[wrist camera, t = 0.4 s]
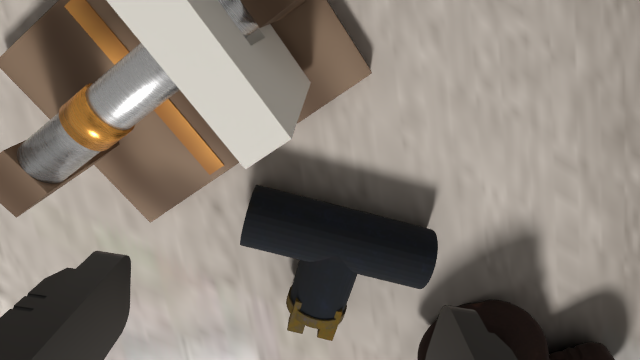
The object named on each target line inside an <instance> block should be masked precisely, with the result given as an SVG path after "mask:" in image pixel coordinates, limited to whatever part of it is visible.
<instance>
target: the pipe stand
mask: <svg viewBox="0 0 640 360" xmlns="http://www.w3.org/2000/svg"><path fill="white" fill-rule="evenodd" d="M240 1H241V2H242V3H243V5H244V6H245V8H246V9H247V10H248V12H249V13H250V15H251V16H252V18H253V19H254V20H255V22H256V23H257V25H258V26H259V27H260V28H261V27H264V26H266V25H269V24H271V26H272V27H273V29H274V30H275V32H276V33H277V35H278V36H279V37H280V39H281V40H282V42H283V43H284V45H285V46H286V48H287V49H288V50H289V52H290V53H291V55H292V56H293V58H294V59H295V60H296V62H297V63H298V65H299V66H300V68H301V69H302V71H303V72H304V73H305V75H306V76H307V78H308V79H309V81H310V82H311V84H310V87H309V89H308V92H307V95H306V98H305V101H304V104H303V107H302V110H301V113H300V115H299V118H298V121H297V123H299V122H300V121H302V120H303V119H305V118H306V117H308V116H309V115H311V114H312V113H314V112H315V111H316V110H318V109H319V108H321V107H322V106H324V105H325V104H327V103H328V102H330V101H331V100H333V99H334V98H336V97H337V96H339V95H340V94H342V93H343V92H345V91H346V90H348V89H349V88H351V87H352V86H354V85H355V84H357V83H358V82H360V81H361V80H362V79H364V78H365V77H367V76H368V75H370V74H371V73H372V72H371V70H370V68H369V66H368V65H367V63H366V62H365V60H364V58H363V57H362V55H361V54H360V52H359V50H358V49H357V47H356V46H355V44H354V43H353V41H352V39H351V38H350V36H349V35H348V33H347V31H346V30H345V28H344V27H343V25H342V24H341V22H340V20H339V19H338V17H337V16H336V14H335V12H334V11H333V9H332V8H331V6H330V4H329V3H328V1H327V0H240ZM140 43H141V42H140V41H139V39H138V38H137V37H136V36H135V35H134V33H133V32H132V31H131V30H130V29H129V27H128V26H127V25H126V24H125V22H124V21H123V20H122V19H121V18H120V16H119V15H118V14H117V13H116V12H115V10H114V9H113V8H112V7H111V5H110V4H109V3H108V2H107V1H106V0H58V1H57V2H56V3H55V4H54V5H53V6H52V7H51V8H50V9H49V10H48V11H47V12H46V13H45V14H44V15H43V16H42V17H41V18H40V19H39V20H38V21H37V22H36V23H35V24H34V25H33V26H32V27H31V28H30V29H29V30H27V31H26V32H25V33H24V34H23V35H22V36H21V37H20V38H19V39H18V40H17V41H16V42H15V43H14V44H13V45H12V46H11V47H10V48H9V49H8V50H7V51H6V52H5V53H4V54H3V55H2V56H1V57H0V68H1V69H2V70H3V71H4V72H5V73H6V74H7V75H8V77H9V78H10V79H11V80H12V81H13V82H14V83H15V84H16V85H17V86H18V87H19V88H20V89H21V90H22V91H23V92H24V93H25V94H26V95H27V96H28V97H29V98H30V99H31V100H32V101H33V102H34V103H35V104H36V105H37V106H38V107H39V108H40V109H41V111H42V112H43V113H44V114H45V115H46V116H47V117H48V118H49V119H50V120H51V119H52V118H53V117H54V116H55V115H57V114H58V113H59V109H60V108H61V106H62V105H64V104H65V103H66V102H67V101H68V100H69V99H71V98H72V97H73V96H74V95H75V94H76V93H78V92H79V91H80V90H81V89H82V88H83V87H85V86H86V85H87V84H90V83H94V82H95V81H96V80H98V79H99V78H100V77H101V76H102V75H103V74H105V73H106V72H107V71H108V70H109V69H110V68H112V67H113V66H114V65H115V64H116V63H117V62H119V61H120V60H121V59H122V58H123V57H124V56H126V55H127V54H128V53H129V52H130V51H132V50H133V49H134V48H135V47H136V46H137V45H139V44H140ZM25 141H26V140H25ZM25 141H23V142H21V143H19V144H17V145H14V146H12V147H10V148H8V149H6V150H4V151H2V152H1V153H0V203H1V204H2V205H3V206H4V207H5V208H6V209H7V210H9V211H10V212H11V213H12V214H13V215H14V216H15V217H18V216H19V215H21V214H22V213H24V212H25V211H27V210H28V209H30V208H31V207H33V206H34V205H35V204H37V203H38V202H40V201H41V200H43V199H44V198H46V197H47V196H49V195H50V194H52V193H53V192H54V191H56V190H57V189H59V188H60V187H62V186H63V185H65V184H66V183H68V182H69V181H70V180H72V179H73V178H75V177H76V176H78V175H79V174H81V173H82V172H84V171H85V170H87V169H88V168H89V167H91V166H92V165H95V166H96V167H97V168H98V169H99V170H100V171H101V172H102V173H103V174H104V175H105V176H106V177H107V178H108V180H109V181H110V182H111V183H112V184H113V185H114V186H115V187H116V188H117V189H118V190H119V191H120V192H121V193H122V194H123V195H124V196H125V197H126V198H127V199H128V200H129V201H130V202H131V203H132V204H133V205H134V206H135V207H136V208H137V209H138V210H139V211H140V212H141V214H142V215H143V216H144V217H145V218H146V219H147V220H148V221H149V222H152V221H153V220H155V219H156V218H158V217H159V216H161V215H162V214H164V213H165V212H167V211H168V210H170V209H171V208H173V207H174V206H176V205H177V204H179V203H180V202H182V201H183V200H184V199H186V198H187V197H189V196H190V195H192V194H193V193H195V192H196V191H198V190H199V189H201V188H202V187H204V186H205V185H207V184H208V183H210V182H211V181H213V180H214V179H216V178H217V177H219V176H220V175H222V174H223V173H225V172H226V171H227V170H229V169H230V168H232V167H233V166H235V165H236V164H238V163H239V161H238V160H237V159H236V158H235V156H234V155H233V154H232V153H231V151H230V150H229V149H228V148H227V147H226V145H225V144H224V143H223V142H222V140H221V139H220V138H219V137H218V136H217V134H216V133H215V132H214V131H213V130H212V128H211V127H210V126H209V125H208V123H207V122H206V121H205V120H204V119H203V117H202V116H201V115H200V114H199V113H198V111H197V110H196V109H195V108H194V106H193V105H192V104H191V103H190V102H189V100H188V99H187V98H186V97H185V95H184V94H183V93H182V92H181V91H180V90H179V91H178V92H176V93H175V94H174V95H172V96H171V97H170V98H169V99H167V100H166V101H165V102H163V103H162V104H161V105H160V106H158V107H157V108H156V109H154V110H153V111H152V112H151V113H149V114H148V115H147V116H145V117H144V118H143V119H142V120H140V121H139V122H138V123H136V124H135V126H134V129H133V130H132V131H131V132H129V133H128V134H127V135H126V136H124V137H123V138H122V139H120V140H119V141H118V142H117V143H115V144H114V145H113V146H111V147H110V148H109V149H107V150H105V151H101V152H99V153H98V154H97V155H95V156H94V157H93V158H92V159H90V160H89V161H88V162H86V163H85V164H84V165H83V166H81V167H80V168H79V169H77V170H76V171H75V172H74V173H72V174H71V175H70V176H68V177H67V178H66V179H65V180H63V181H62V182H60V183H56V184H48V183H44V182H41V181H38V180H36V179H34V178H33V177H31V176H30V175H28V174H27V173H26V172H25V171H24V170H23V168H22V167H21V166H20V164H19V162H18V159H17V150H18V148H19V146H20V145H21V144H23V143H24V142H25Z"/></svg>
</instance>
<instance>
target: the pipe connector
mask: <svg viewBox="0 0 640 360" xmlns="http://www.w3.org/2000/svg"><path fill="white" fill-rule="evenodd" d="M240 245H242V246H246V247H250V248H254V249H258V250H263V251H267V252H271V253H275V254H279V255H283V256H287V257H291V258H295V259H299V260H300V261H299V265H298V268H297V272H296V275H295V278H294V282H293V285H292V286H291V287H290V290H289V293H288V296H287V301H286V304H287V308H288V310H289V312H290V313H291V314H290V317H289V322H288V328H287V330H288V331H292V332H296V333H301V334H302V333H303V330H304V327H305V325H306V326H308V327H312V328H316V329H318V334H317V337H318V338H322V339H326V340H331V341H332V340H333V337H334V335H335V332H336V329H337V326H338V324H340V322H341V321H342V319H343V317H344V314H345V312H346V308H347V301H348V298H349V296H350V293H351V290H352V287H353V285H354V282H355V279H356V276H357V274H360V275H364V276H368V277H373V278H377V279H381V280H385V281H389V282H393V283H397V284H401V285H405V286H409V287H413V288H417V289H422V288H424V287H425V286H426V285H427V283H428V282H429V280H430V278H431V276H432V274H433V271H434V268H435V264H436V259H437V251H438V242H437V236H436V233H435V232H434V231H433V230H431V229H427V228H423V227H419V226H415V225H412V224H408V223H404V222H400V221H396V220H392V219H388V218H384V217H380V216H376V215H372V214H369V213H365V212H361V211H357V210H353V209H349V208H345V207H341V206H337V205H333V204H329V203H325V202H322V201H318V200H314V199H310V198H306V197H302V196H298V195H294V194H290V193H286V192H282V191H279V190H275V189H271V188H267V187H263V186H259V185H256V187H255V189H254V191H253V194H252V197H251V200H250V203H249V206H248V210H247V213H246V217H245V221H244V225H243V229H242V234H241V240H240Z"/></svg>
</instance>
